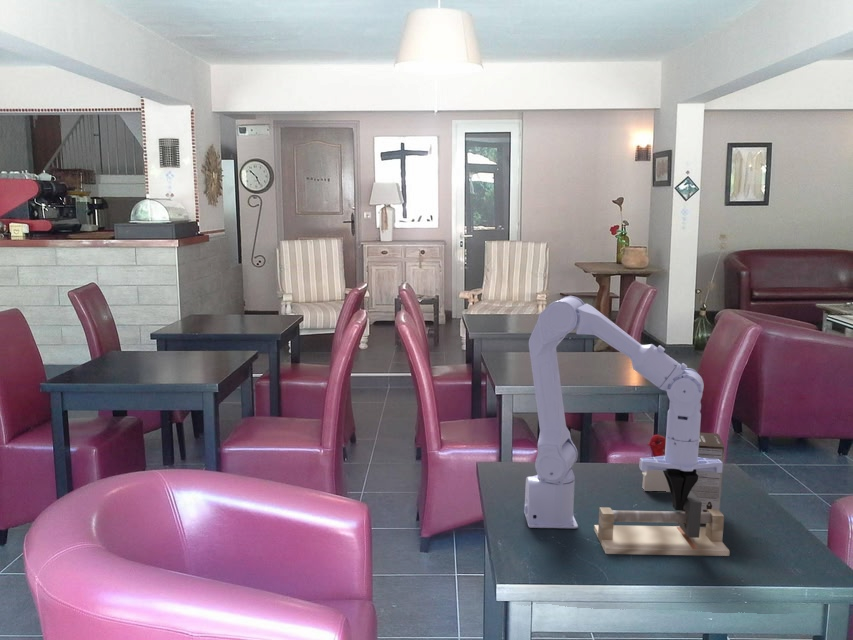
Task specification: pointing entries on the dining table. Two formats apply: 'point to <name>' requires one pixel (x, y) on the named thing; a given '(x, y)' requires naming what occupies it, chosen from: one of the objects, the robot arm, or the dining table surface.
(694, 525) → the upright gray tile
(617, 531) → the pipe board
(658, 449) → the decorative bird figurine
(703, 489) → the coffee box
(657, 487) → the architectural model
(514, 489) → the dining table surface
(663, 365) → the robot arm
